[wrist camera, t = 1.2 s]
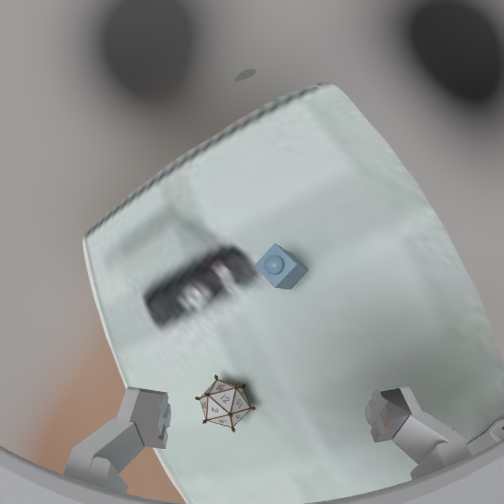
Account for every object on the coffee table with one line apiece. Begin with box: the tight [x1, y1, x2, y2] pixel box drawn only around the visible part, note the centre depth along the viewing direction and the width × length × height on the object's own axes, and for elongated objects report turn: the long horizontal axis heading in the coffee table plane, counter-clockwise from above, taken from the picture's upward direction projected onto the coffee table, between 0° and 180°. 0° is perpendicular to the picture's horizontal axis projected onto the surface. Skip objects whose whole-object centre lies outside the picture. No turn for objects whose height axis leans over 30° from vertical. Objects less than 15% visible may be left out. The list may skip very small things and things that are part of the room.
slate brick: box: [255, 244, 308, 289], centre depth 41 cm, size 4×4×9 cm
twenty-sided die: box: [195, 375, 256, 433], centre depth 42 cm, size 9×8×10 cm
